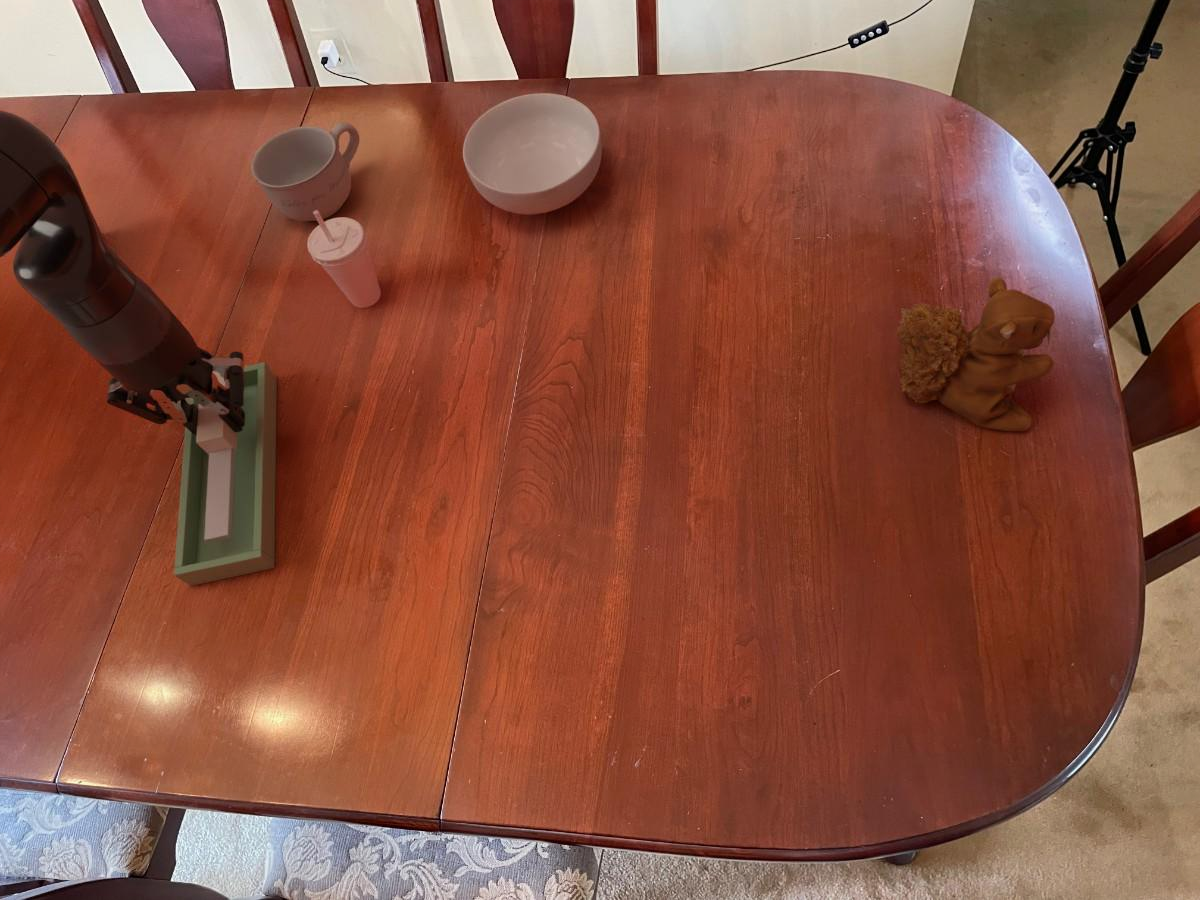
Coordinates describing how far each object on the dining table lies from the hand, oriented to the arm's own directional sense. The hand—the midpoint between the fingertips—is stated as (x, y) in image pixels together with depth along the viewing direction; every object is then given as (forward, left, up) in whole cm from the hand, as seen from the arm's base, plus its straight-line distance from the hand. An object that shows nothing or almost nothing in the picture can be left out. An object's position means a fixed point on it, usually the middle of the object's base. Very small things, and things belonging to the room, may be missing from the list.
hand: (223, 427), depth 89 cm
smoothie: (+15, +17, -3) cm, 23 cm away
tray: (0, -4, -3) cm, 5 cm away
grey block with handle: (0, -4, 0) cm, 4 cm away
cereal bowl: (+38, +29, -3) cm, 48 cm away
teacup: (+11, +35, -3) cm, 37 cm away
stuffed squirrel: (+75, -12, -3) cm, 76 cm away
